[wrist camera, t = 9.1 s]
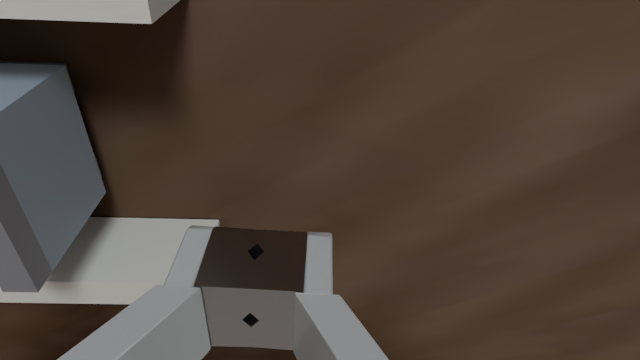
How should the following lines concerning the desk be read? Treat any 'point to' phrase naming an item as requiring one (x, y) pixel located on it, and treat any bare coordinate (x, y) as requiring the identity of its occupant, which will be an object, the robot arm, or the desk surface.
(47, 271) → the grey-blue box
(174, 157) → the desk surface
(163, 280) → the bay
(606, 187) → the desk surface
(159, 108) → the desk surface
